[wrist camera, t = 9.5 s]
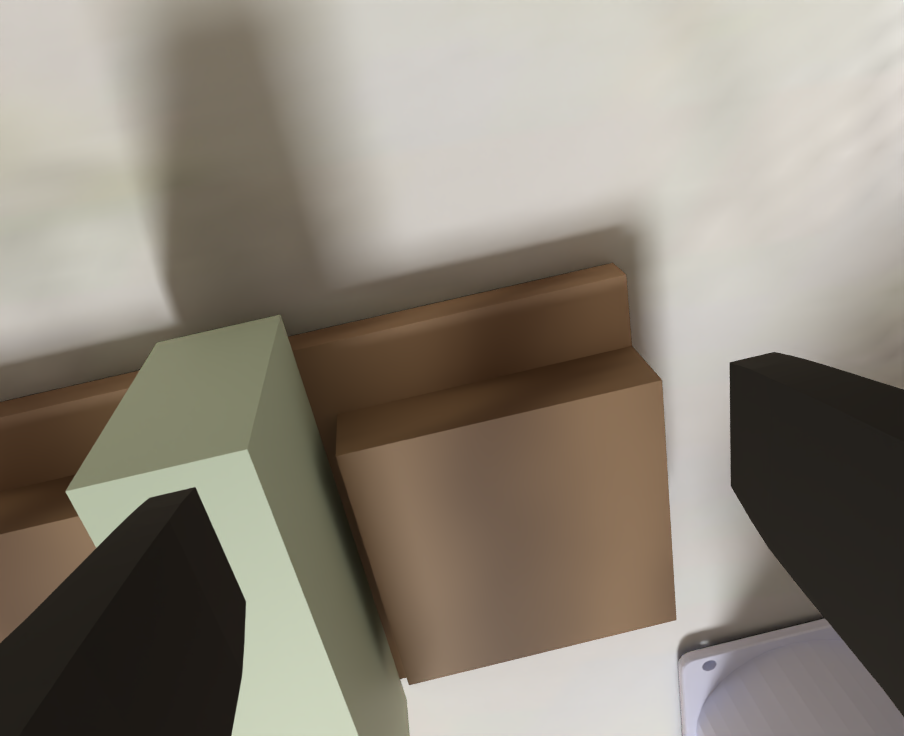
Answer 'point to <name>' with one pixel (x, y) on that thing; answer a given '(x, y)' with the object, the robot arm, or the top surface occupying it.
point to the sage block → (256, 524)
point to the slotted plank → (434, 472)
